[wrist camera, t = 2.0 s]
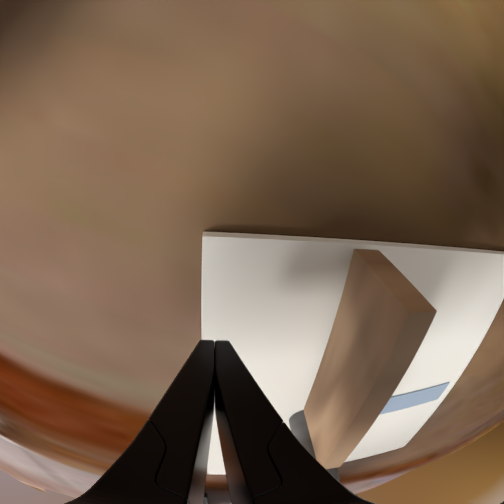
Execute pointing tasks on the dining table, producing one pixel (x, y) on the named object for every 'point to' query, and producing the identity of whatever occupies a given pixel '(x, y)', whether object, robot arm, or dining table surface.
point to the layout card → (324, 312)
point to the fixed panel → (306, 436)
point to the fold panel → (364, 354)
